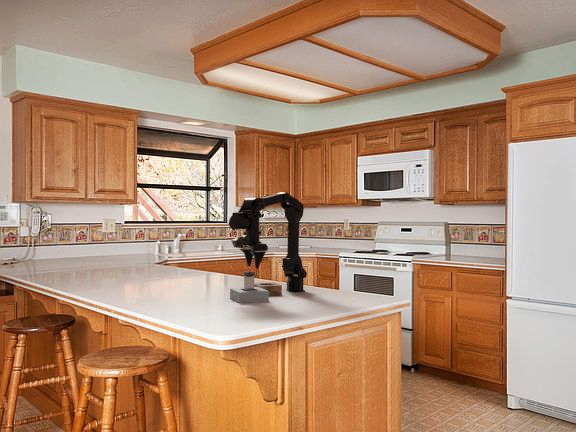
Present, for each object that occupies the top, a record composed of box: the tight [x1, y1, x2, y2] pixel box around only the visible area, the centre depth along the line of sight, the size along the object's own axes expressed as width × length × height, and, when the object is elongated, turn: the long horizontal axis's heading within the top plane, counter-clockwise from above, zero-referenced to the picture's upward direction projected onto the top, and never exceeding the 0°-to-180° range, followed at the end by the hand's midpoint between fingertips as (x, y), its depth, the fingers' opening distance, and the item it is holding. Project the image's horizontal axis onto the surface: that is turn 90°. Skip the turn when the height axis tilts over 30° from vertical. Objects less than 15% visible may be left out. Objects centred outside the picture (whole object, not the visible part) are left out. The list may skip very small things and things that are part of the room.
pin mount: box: [254, 281, 283, 296], centre depth 222 cm, size 10×10×4 cm
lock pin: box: [242, 270, 256, 291], centre depth 206 cm, size 5×5×11 cm
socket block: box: [229, 287, 270, 304], centre depth 206 cm, size 12×12×4 cm
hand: (252, 267), depth 211 cm, fingers open, 9 cm apart
